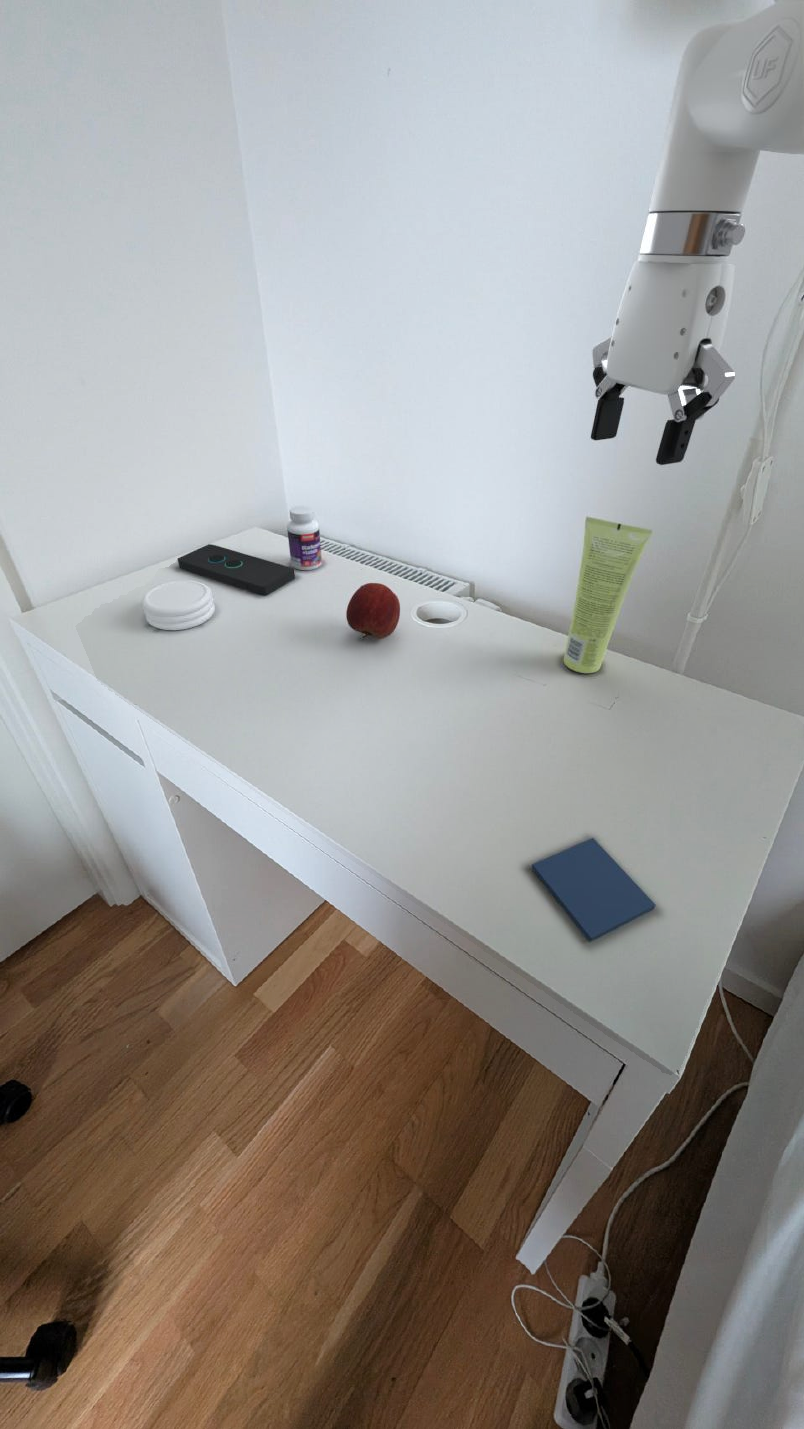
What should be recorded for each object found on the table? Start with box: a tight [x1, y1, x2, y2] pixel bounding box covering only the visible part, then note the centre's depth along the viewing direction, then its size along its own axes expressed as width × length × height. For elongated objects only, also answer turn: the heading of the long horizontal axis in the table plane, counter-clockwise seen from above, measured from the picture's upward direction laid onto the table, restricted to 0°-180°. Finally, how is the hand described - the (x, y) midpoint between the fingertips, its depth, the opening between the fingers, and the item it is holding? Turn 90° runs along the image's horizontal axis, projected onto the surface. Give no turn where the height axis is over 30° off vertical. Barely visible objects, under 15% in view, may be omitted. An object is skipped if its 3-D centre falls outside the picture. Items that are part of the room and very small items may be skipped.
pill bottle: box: [286, 505, 323, 571], centre depth 99 cm, size 5×5×10 cm
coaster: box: [141, 579, 216, 631], centre depth 87 cm, size 10×10×4 cm
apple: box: [345, 582, 401, 639], centre depth 81 cm, size 7×8×8 cm
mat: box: [531, 837, 656, 943], centre depth 51 cm, size 8×7×1 cm
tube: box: [563, 516, 653, 674], centre depth 72 cm, size 6×5×20 cm
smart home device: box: [177, 543, 296, 596], centre depth 99 cm, size 8×2×20 cm
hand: (634, 450), depth 61 cm, fingers open, 9 cm apart
